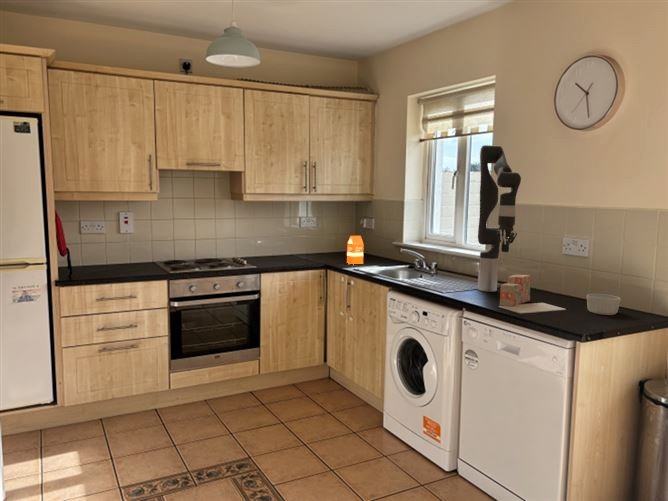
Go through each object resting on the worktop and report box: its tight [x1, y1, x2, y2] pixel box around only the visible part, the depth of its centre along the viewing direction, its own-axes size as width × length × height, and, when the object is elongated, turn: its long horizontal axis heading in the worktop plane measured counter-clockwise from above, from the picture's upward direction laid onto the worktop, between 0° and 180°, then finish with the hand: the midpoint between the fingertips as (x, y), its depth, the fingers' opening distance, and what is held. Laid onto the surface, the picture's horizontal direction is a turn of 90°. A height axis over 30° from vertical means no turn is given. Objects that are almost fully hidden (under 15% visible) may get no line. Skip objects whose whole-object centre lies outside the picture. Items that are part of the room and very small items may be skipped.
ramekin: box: [586, 293, 622, 316], centre depth 229 cm, size 13×13×7 cm
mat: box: [498, 302, 567, 314], centre depth 234 cm, size 14×25×1 cm, turn 111°
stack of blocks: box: [499, 273, 532, 306], centre depth 244 cm, size 21×6×12 cm, turn 141°
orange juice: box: [346, 235, 365, 266], centre depth 370 cm, size 8×9×20 cm
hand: (504, 251), depth 250 cm, fingers closed
